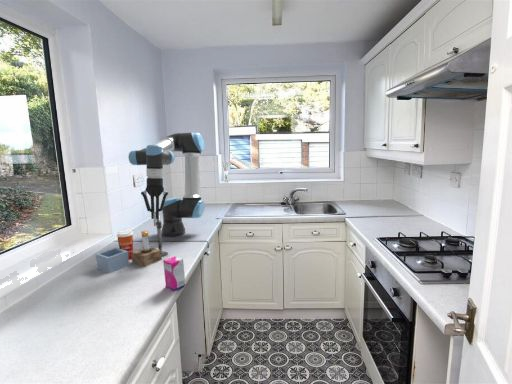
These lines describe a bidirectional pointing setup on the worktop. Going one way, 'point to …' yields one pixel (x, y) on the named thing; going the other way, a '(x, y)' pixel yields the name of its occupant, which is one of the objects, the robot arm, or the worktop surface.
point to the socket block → (146, 256)
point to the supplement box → (174, 273)
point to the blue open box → (112, 260)
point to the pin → (145, 241)
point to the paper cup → (126, 241)
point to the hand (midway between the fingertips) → (155, 225)
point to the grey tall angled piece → (159, 233)
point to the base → (164, 253)
